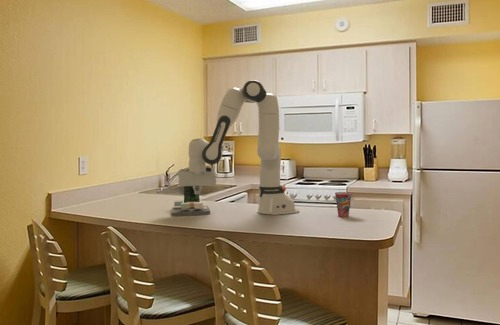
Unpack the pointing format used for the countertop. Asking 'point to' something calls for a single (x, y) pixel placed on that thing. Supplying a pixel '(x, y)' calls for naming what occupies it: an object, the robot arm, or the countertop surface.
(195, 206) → the key
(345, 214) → the cup
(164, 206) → the countertop surface
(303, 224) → the countertop surface
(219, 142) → the robot arm
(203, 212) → the keypad board
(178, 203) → the key
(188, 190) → the coffee jar
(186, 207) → the key
